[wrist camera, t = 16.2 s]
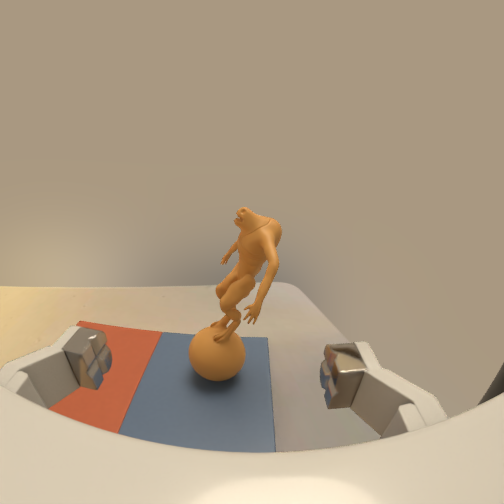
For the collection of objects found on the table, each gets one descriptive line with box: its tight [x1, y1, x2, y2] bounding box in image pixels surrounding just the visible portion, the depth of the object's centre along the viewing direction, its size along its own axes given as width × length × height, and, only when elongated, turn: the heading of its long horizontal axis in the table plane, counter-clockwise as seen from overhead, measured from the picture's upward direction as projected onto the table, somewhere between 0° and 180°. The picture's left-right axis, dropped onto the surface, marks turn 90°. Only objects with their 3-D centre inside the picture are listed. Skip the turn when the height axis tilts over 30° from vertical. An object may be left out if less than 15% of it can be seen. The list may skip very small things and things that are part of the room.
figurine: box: [189, 207, 282, 381], centre depth 17 cm, size 8×6×12 cm
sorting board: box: [49, 321, 276, 453], centre depth 17 cm, size 19×14×1 cm
